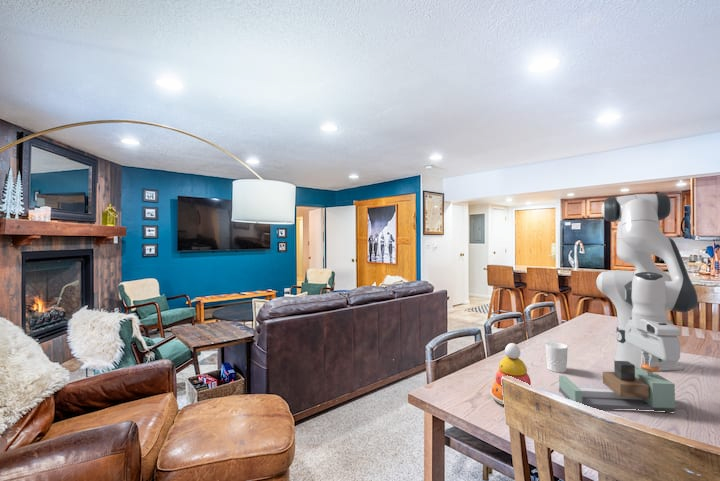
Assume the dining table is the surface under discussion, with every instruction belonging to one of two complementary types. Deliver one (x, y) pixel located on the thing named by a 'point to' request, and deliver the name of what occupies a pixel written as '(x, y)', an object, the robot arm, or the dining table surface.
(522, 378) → the stacking toy
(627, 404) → the rail base
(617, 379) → the carriage
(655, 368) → the gauge button
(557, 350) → the white cup
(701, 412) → the dining table surface
